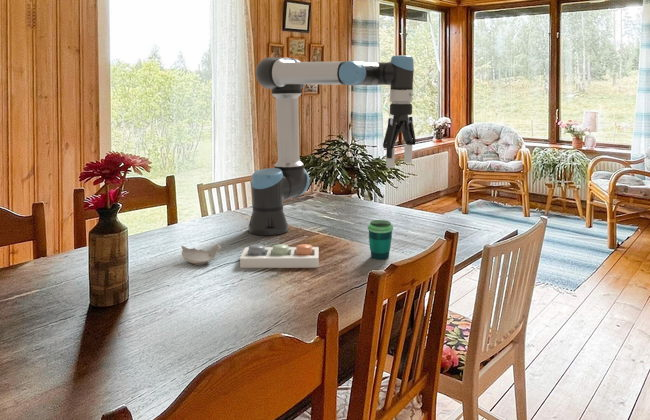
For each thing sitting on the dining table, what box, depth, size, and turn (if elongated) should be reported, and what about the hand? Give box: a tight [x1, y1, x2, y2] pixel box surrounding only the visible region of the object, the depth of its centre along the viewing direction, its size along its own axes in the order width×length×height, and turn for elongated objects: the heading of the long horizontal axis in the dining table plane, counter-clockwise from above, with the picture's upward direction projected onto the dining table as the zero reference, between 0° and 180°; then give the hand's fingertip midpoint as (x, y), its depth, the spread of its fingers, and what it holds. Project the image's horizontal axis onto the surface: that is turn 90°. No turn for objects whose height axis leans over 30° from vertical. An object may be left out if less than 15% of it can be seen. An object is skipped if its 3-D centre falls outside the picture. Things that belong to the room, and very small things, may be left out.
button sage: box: [272, 243, 289, 256], centre depth 174 cm, size 5×5×3 cm
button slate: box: [248, 243, 266, 256], centre depth 174 cm, size 5×5×3 cm
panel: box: [239, 246, 320, 269], centre depth 175 cm, size 24×12×3 cm, turn 90°
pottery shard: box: [181, 244, 222, 266], centre depth 175 cm, size 10×11×5 cm
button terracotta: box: [295, 243, 313, 256], centre depth 174 cm, size 5×5×3 cm
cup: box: [367, 219, 394, 261], centre depth 177 cm, size 8×8×12 cm
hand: (399, 165), depth 191 cm, fingers open, 13 cm apart
